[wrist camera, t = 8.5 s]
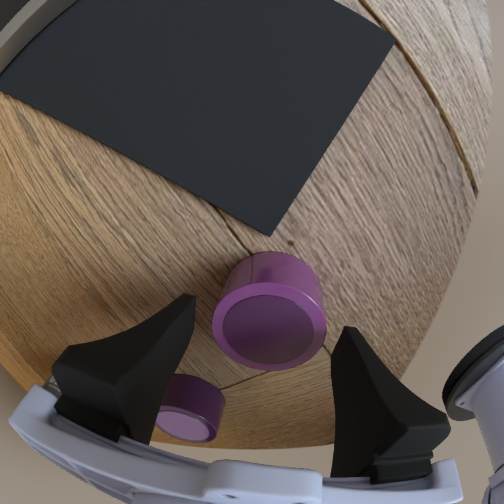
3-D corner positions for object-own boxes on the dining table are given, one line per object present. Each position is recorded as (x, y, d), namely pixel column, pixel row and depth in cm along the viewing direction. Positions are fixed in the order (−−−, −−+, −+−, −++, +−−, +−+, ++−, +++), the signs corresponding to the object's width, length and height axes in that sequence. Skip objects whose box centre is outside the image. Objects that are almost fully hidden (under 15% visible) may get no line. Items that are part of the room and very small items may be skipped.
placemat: (394, 41, 9) (397, 39, 9) (270, 234, 14) (269, 237, 14) (39, -43, 7) (36, -44, 6) (-20, 79, 12) (-23, 79, 11)
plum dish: (340, 283, 15) (350, 319, 12) (286, 345, 17) (284, 384, 14) (254, 232, 14) (245, 260, 12) (209, 305, 17) (193, 341, 14)
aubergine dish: (236, 395, 20) (229, 429, 17) (209, 420, 22) (201, 449, 19) (172, 364, 19) (157, 396, 16) (154, 394, 22) (141, 422, 19)
